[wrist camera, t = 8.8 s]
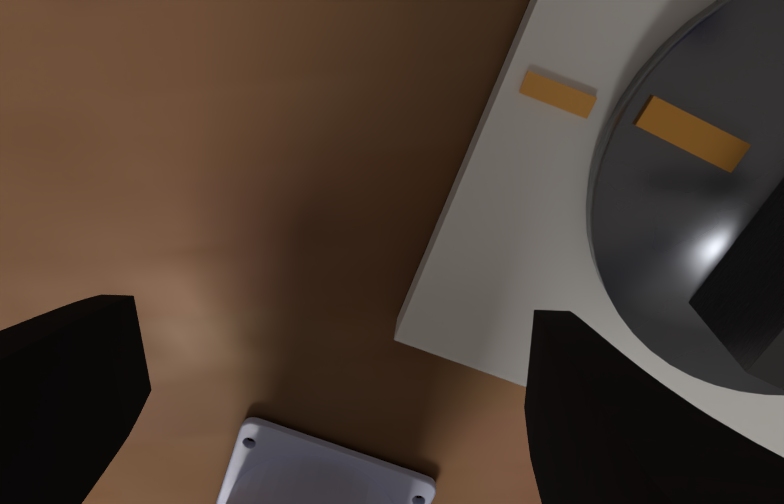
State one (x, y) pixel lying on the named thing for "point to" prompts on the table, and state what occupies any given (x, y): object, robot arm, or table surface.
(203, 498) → the table surface
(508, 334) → the dial panel
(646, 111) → the dial
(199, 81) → the table surface
